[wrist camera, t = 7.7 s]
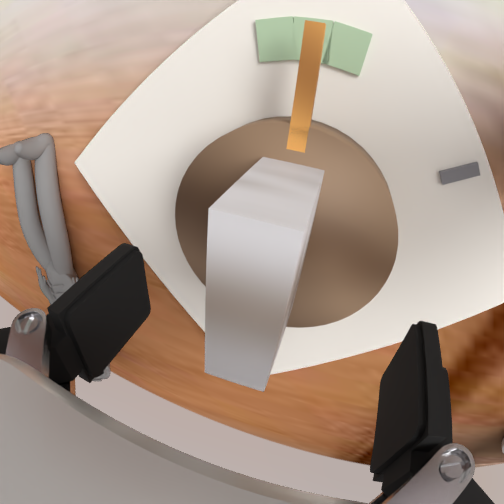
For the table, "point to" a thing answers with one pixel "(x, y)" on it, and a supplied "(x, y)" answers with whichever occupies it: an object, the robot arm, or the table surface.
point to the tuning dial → (283, 229)
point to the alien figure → (43, 214)
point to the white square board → (335, 115)
